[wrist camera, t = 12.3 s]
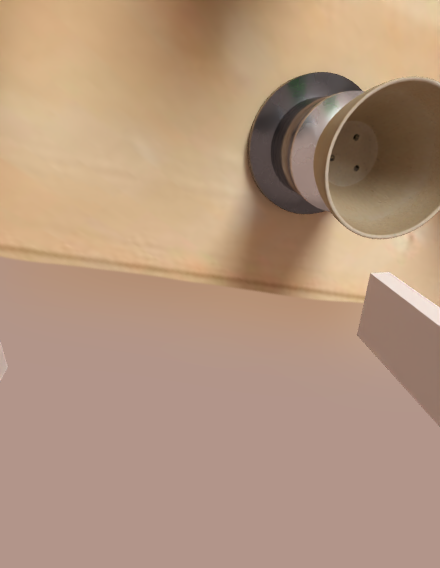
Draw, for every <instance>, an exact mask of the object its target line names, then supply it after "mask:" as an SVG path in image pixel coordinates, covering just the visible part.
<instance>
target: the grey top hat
mask: <svg viewBox="0 0 440 568" xmlns="http://www.w3.org/2000/svg"><path fill="white" fill-rule="evenodd" d="M362 93H364V92H363V91H362V90H361V89H360V88H359V87H358V86H357V85H356V84H355V83H353V82H352V81H350V80H349V79H347V78H345V77H343V76H340V75H337V74H333V73H328V72H317V73H310V74H306V75H302V76H299V77H296V78H294V79H292V80H289V81H288V82H286V83H284V84H283V85H281V86H280V87H279V88H277V89H276V90H275V91H274V92H273V93H272V94H271V95H270V96H269V97H268V98H267V99H266V101H265V102H264V103H263V105H262V106H261V108H260V110H259V111H258V113H257V115H256V117H255V120H254V122H253V124H252V128H251V131H250V136H249V142H248V159H249V165H250V170H251V173H252V176H253V179H254V181H255V183H256V184H257V186H258V188H259V189H260V191H261V192H262V193H263V194H264V195H265V196H266V197H267V198H268V199H269V200H270V201H271V202H273V203H274V204H275V205H277V206H279V207H280V208H282V209H284V210H287V211H289V212H293V213H299V214H313V213H319V212H323V211H329V212H330V210H329V209H328V208H327V206H326V205H325V203H324V201H323V200H322V198H321V196H320V193H319V191H318V188H317V185H316V182H315V177H314V169H313V161H314V153H315V148H316V145H317V142H318V140H319V137H320V135H321V133H322V132H323V130H324V128H325V127H326V125H327V124H328V122H329V121H330V120H331V119H332V117H333V116H334V115H335V114H336V113H337V112H338V111H339V110H340V109H341V108H343V107H344V106H345V105H346V104H347V103H349V102H350V101H351V100H353V99H354V98H356V97H357V96H359V95H360V94H362ZM354 138H355V136H354ZM330 160H331V161H332V160H334V159H333V158H331V159H330ZM356 168H357V169H358V168H359V167H358V166H356Z"/></svg>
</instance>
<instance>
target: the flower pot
mask: <svg viewBox="0 0 440 568" xmlns="http://www.w3.org/2000/svg"><path fill="white" fill-rule="evenodd" d="M354 136H355V138H354ZM331 158H333V159H334V160H332V161H331V160H330V159H331ZM356 166H358V167H359V168H358V169H357V168H356ZM313 169H314V177H315V182H316V185H317V188H318V191H319V193H320V196H321V198H322V200H323V201H324V203H325V205H326V206H327V208H328V209H329V210H330V212H331V213H332V214H333V215H334V217H335V218H336V219H337V220H338V221H339V222H340V223H341V224H343V225H344V226H345V227H346V228H347V229H349V230H350V231H352V232H354V233H356V234H358V235H360V236H363V237H367V238H372V239H389V238H394V237H398V236H402V235H404V234H407V233H409V232H411V231H413V230H415V229H417V228H419V227H420V226H422V225H423V224H425V223H426V222H427V221H429V220H430V219H431V218H432V217H433V216H434V215H436V213H437V212H439V210H440V82H438V81H436V80H433V79H430V78H425V77H417V76H412V77H403V78H398V79H394V80H391V81H388V82H385V83H383V84H380V85H378V86H375V87H373V88H371V89H369V90H367V91H366V92H364V93H362V94H360V95H359V96H357V97H356V98H354V99H353V100H351V101H350V102H349V103H347V104H346V105H345V106H344V107H343V108H341V109H340V110H339V111H338V112H337V113H336V114H335V115H334V116H333V117H332V119H331V120H330V121H329V122H328V124H327V125H326V127H325V128H324V130H323V132H322V133H321V135H320V137H319V140H318V142H317V145H316V148H315V153H314V161H313Z"/></svg>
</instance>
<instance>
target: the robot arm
mask: <svg viewBox="0 0 440 568" xmlns="http://www.w3.org/2000/svg"><path fill="white" fill-rule="evenodd" d="M357 336H359V338H360V339H361V340H362V341H363V342H364V343H365V344H366V346H367V347H368V348H369V349H370V350H371V351H372V352H373V353H374V354H375V355H376V357H377V358H378V359H379V360H380V361H381V362H382V363H383V364H384V365H385V367H386V368H387V369H388V370H389V371H390V372H391V373H392V374H393V375H394V377H396V379H397V380H398V381H399V382H400V383H401V384H402V385H403V387H404V388H405V389H406V390H407V391H408V392H409V393H410V394H411V395H412V396H413V398H414V399H415V400H416V401H417V402H418V403H419V404H420V405H421V407H423V409H424V410H425V411H426V412H427V413H428V414H429V415H430V416H431V418H432V419H433V420H434V421H435V422H436V423H437V424H438V425H439V426H440V307H438V306H437V305H435V304H434V303H433V302H431V301H430V300H428V299H427V298H425V297H424V296H423V295H421V294H420V293H418V292H417V291H415V290H414V289H413V288H411V287H410V286H408V285H407V284H405V283H404V282H403V281H401V280H400V279H398V278H397V277H396V276H394V275H393V274H391V273H390V272H381V273H370V277H369V282H368V287H367V291H366V296H365V301H364V305H363V310H362V314H361V319H360V324H359V329H358V333H357ZM7 368H8V365H7V362H6V358H5V355H4V352H3V348H2V345H1V341H0V381H1V379H2V378H3V376H4V374H5V372H6V370H7Z"/></svg>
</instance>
